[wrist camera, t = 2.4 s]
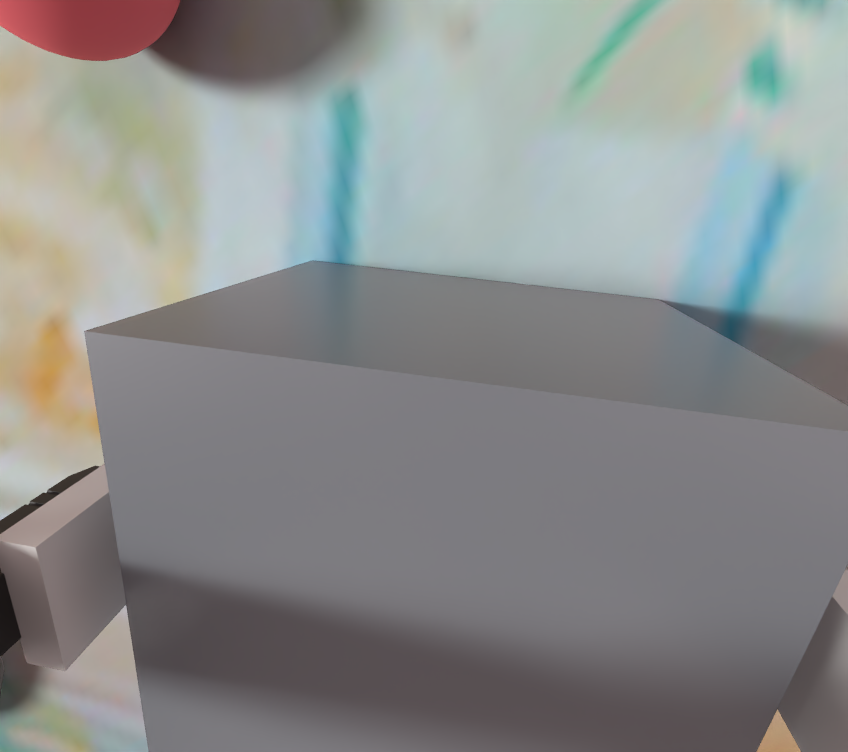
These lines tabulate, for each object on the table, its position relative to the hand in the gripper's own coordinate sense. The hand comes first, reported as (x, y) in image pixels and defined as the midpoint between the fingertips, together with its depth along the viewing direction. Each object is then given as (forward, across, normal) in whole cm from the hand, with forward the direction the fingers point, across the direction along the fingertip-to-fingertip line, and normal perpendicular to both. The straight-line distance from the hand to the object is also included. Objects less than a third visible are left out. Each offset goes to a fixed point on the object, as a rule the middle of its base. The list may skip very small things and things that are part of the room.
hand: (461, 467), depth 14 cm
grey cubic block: (+2, 0, 0) cm, 3 cm away
